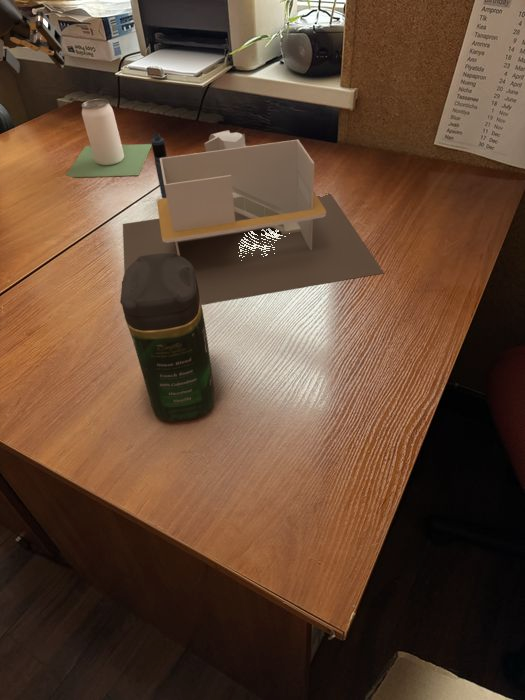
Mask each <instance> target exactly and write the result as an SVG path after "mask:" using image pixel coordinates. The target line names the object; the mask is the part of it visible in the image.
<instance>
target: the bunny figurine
mask: <svg viewBox="0 0 525 700" xmlns="http://www.w3.org/2000/svg"><path fill="white" fill-rule="evenodd" d="M246 144H247V143H246V136H245V133H240V132H230V130H229V129H228V130H223V131H219V132H215V133H211V134H210V135H209V136H208V141H206V142H204V143H203V145H204V150H205V151H204V152H209V151H217V150H224V149H232V148H239V147H246V146H247V145H246Z"/></svg>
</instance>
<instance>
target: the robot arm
mask: <svg viewBox="0 0 525 700" xmlns="http://www.w3.org/2000/svg"><path fill="white" fill-rule="evenodd" d="M31 34H32V35H33V41H32V40H31ZM42 41H43V42H45V43H46V45H45V44H44V43H42ZM5 47H6V48H5ZM15 48H28V49H30V50H33V51H34V52H38V51H41V52H43V53H44V54H47V56H48V57H49V58H50V60H51V61H52V62H53V63H54V64H55V66H56V67H57V68H58V69H64V67H65V63H66V62H65V61H66V55H65V54H64V53H63V51H62V50H63V35H62V33H61V32H60V31H59V30H58V28H57V27H56V26H55V24H54V23H53V22H52V21H51V20H50V19H49V18H48V17H47V15H46V14H45V13H44V12H43V11H40V10H37V11H36V13H35V16H33V17H28V16H27V15H25V14H23V13H22V12H21V11H20V9H19V7H18V5H17V4H16V1H15V0H0V62H1V63H2V64H3V65H4V66H5V67H6V68H7V69H8V70H10V71H12V73H14V74H19V73H20V72H21V71H20V70H21V65H20V64H21V63H20V61H19V60H18V59H17V58H16V57H15V56H14V54H13V53H12V52H11V51H10V50H9V49H15Z"/></svg>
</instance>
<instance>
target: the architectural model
mask: <svg viewBox="0 0 525 700" xmlns="http://www.w3.org/2000/svg"><path fill="white" fill-rule="evenodd" d="M171 156H172V157H169V156H167V157H165V158H160V164H161V169H162V175H163V181H164V187H165V192H166V197H167V198H163V197H161V198H158V199H157V200H156V207H157V213H158V218H157V219H158V221H159V228H160V235H161V240H162V242H163V243H165V244H169V243H174V244H175V249H176V251H177V252H178V253H179V252H180V247H179V243H181V242H187V241H195V240H200V239H207V238H213V237H219V236H227V235H232V234H239V233H245V232H250V231H259V230H262V229H264V230H265V231H266V229H268V228H270V229H271V230H272V231H274V232H275V230H276V229H277V230H279V232H277V234H280V235H285V234H289V233H296V232H300V233H301V235H302V237H303V239H304V241H305V242H306V244H307V246H308V248H309V250H310V251H312V250H313V231H314V220H316V219H322V218H325V217H326V216H327V210H326V208H325V207H324V205H323V204H322V202H321V200H320V199H319V197H318V196H316V195H317V194H316V192H315V189H314V187H315V162H314V160H313V159H312V157H311V156H310V155H309V153H308V151H307V150H306V148H305V147H304V145H303V144H302V143H301V141H300V139H291V140H284V141H277V142H269V143H263V144H255V145H246V147H239V148H232V149H224V150H217V151H209V152H206V151H203V152H202V151H201V152H196V153H188V154H181V155H171ZM266 232H267V233H269V231H268V230H267V231H266ZM275 233H276V232H275ZM269 234H270V233H269ZM270 235H271V234H270ZM251 239H254V238H252V237H251ZM251 239H250V238H248V240H249V241H251V242H249V241H246V242H247V243H249V244H251V245H254V244H253V243H252V242H254V241H253V240H251ZM244 244H246V243H244ZM246 245H248V244H246ZM251 245H248V246H250V247H251Z"/></svg>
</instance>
